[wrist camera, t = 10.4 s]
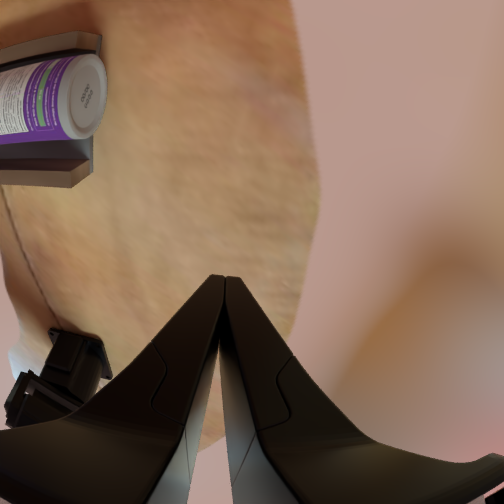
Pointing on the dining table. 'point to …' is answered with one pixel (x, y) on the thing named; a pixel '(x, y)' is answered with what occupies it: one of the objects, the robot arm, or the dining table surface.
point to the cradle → (53, 151)
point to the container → (52, 100)
